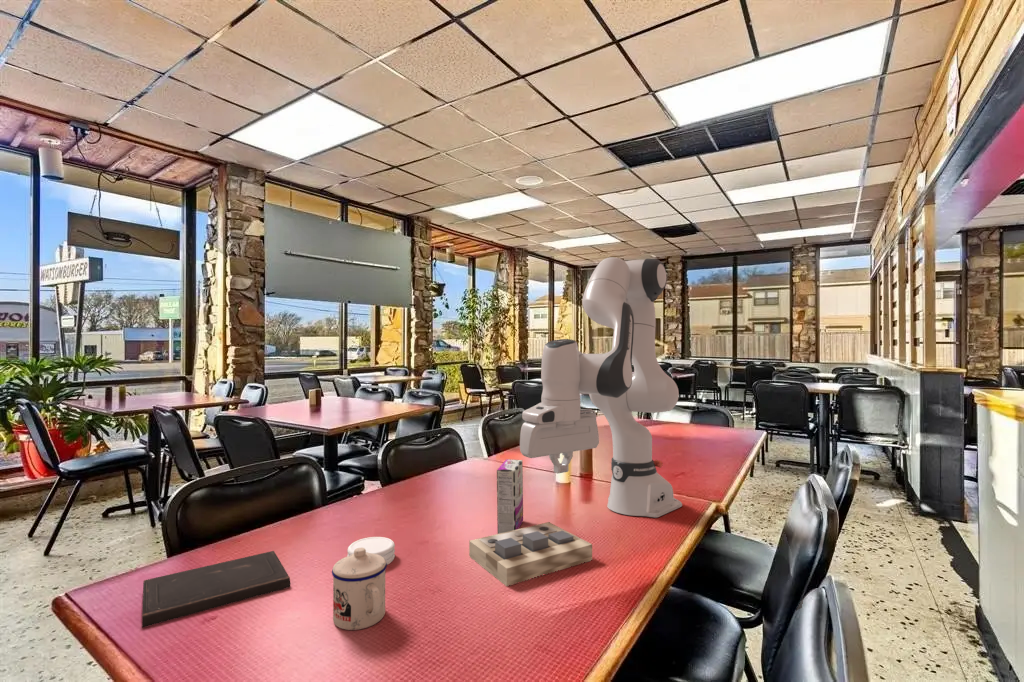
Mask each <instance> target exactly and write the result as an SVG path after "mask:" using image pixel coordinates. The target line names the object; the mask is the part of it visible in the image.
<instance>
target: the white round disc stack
mask: <svg viewBox="0 0 1024 682" xmlns="http://www.w3.org/2000/svg"><path fill="white" fill-rule="evenodd" d="M395 547H396V545H395V542H394V541H393V540H392V539H390V538H388V537H384V536H369V537H364V538H360V539H358V540H356V541H353V542H352V543H351V544H350V545H348V547H347V556H350V555H352V554H354V550H355V549H357V548H365V550H366V552H368V553H372V554H377V555H380V556H382V557H383V558H384V559H385V561H386V563H387V565H389V564H391V563H392V562H393V561H394V559H395V552H396V549H395ZM347 556H346V557H347Z"/></svg>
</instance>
